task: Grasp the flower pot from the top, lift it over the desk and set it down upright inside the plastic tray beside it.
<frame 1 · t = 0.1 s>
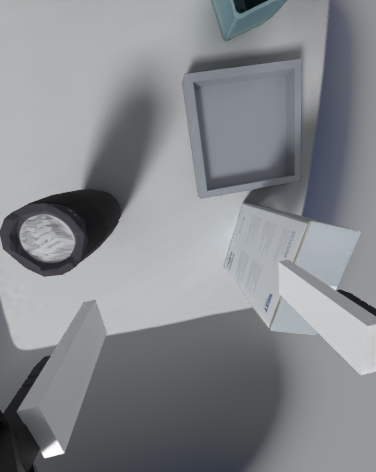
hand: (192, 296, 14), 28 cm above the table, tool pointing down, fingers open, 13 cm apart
flower pot: (231, 17, 33), on the table
portable speaker: (100, 210, 39), on the table
tray: (240, 136, 38), on the table
hard drive box: (247, 238, 45), on the table
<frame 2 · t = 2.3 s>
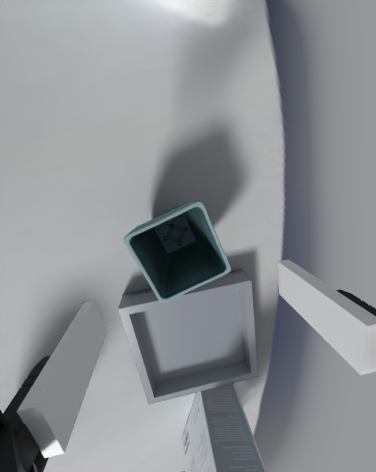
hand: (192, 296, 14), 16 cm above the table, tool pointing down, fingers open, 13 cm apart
flower pot: (174, 232, 30), on the table
tray: (193, 330, 35), on the table
hard drive box: (207, 409, 41), on the table
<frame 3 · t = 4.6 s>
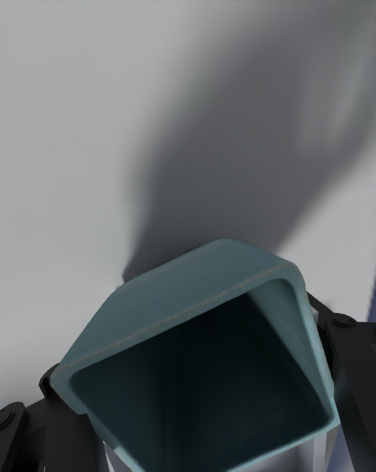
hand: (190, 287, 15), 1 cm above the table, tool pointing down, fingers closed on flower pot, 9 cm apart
flower pot: (188, 282, 16), on the table, touching gripper
tray: (215, 431, 21), on the table
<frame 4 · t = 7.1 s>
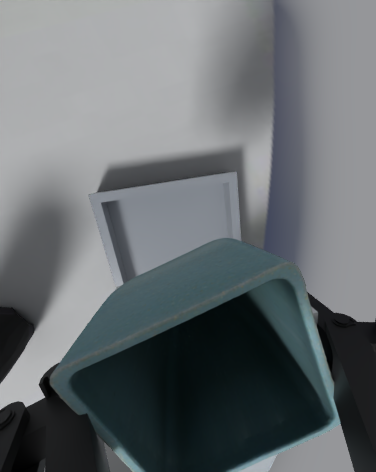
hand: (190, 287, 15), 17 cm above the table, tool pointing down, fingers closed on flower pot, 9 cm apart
flower pot: (188, 282, 16), point 16 cm above the table, touching gripper
portable speaker: (9, 325, 33), on the table
tray: (175, 243, 32), on the table
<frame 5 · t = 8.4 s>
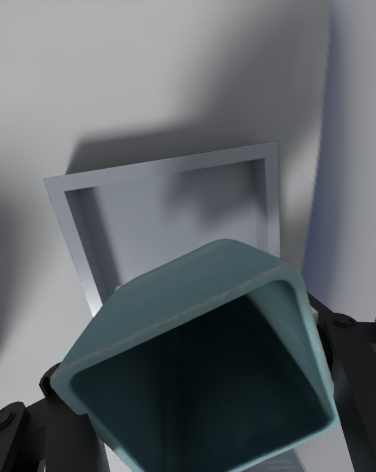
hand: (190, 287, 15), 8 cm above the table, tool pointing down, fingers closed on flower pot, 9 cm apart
flower pot: (188, 283, 16), point 7 cm above the table, touching gripper
tray: (181, 252, 23), on the table
hard drive box: (204, 382, 29), on the table
when the fingers open (4 cm above the table, at t = 9.7 s): flower pot drops 2 cm, resting on tray.
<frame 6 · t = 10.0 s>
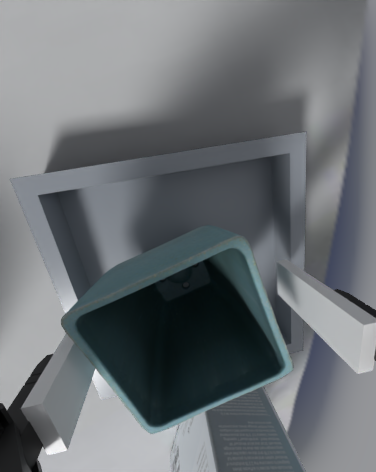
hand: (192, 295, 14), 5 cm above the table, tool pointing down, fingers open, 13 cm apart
flower pot: (177, 267, 18), point 1 cm above the table, touching tray
tray: (184, 265, 19), on the table
hard drive box: (210, 410, 26), on the table
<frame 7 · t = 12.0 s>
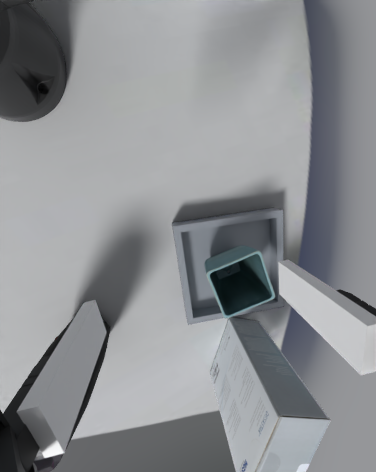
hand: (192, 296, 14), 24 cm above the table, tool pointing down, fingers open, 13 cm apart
flower pot: (224, 263, 39), point 1 cm above the table, touching tray
portable speaker: (90, 327, 40), on the table
tray: (227, 262, 40), on the table
hard drive box: (234, 346, 46), on the table
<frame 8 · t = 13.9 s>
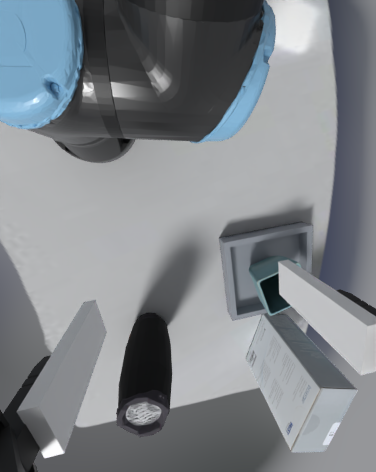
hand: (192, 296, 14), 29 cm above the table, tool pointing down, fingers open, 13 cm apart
flower pot: (261, 269, 47), point 1 cm above the table, touching tray
portable speaker: (150, 325, 48), on the table
tray: (263, 268, 48), on the table
hard drive box: (266, 336, 54), on the table
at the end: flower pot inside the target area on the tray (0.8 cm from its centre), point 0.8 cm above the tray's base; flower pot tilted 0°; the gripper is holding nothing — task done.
